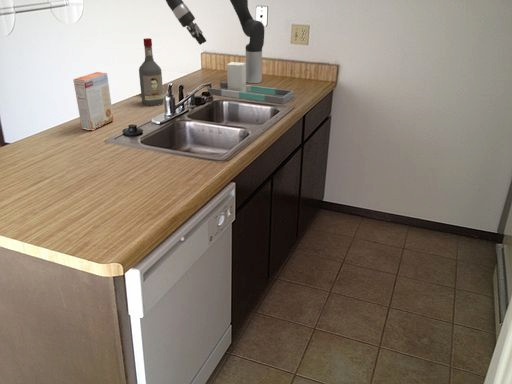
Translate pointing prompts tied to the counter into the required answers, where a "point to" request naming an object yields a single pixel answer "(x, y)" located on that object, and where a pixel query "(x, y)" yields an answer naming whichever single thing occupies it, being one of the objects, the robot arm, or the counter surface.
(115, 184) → the counter surface
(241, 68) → the skincare box
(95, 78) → the cracker box
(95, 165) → the counter surface
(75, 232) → the counter surface
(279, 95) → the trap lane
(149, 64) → the liquor
